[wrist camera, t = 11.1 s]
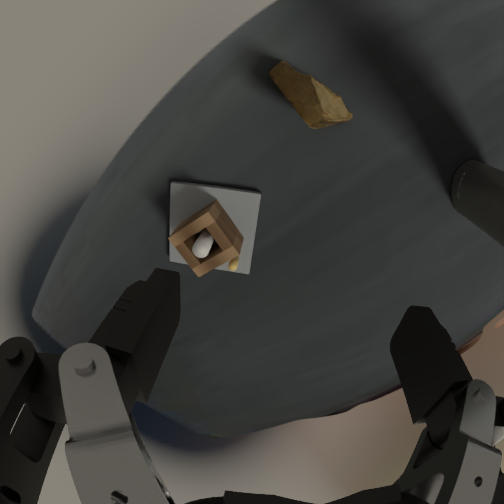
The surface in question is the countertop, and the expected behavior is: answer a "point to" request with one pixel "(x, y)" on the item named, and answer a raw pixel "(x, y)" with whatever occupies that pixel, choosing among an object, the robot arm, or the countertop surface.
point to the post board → (236, 206)
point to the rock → (309, 97)
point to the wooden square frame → (220, 230)
